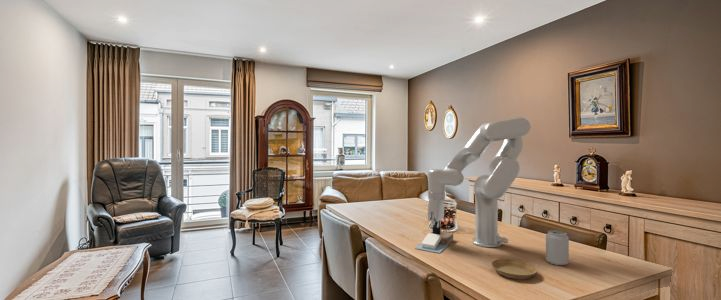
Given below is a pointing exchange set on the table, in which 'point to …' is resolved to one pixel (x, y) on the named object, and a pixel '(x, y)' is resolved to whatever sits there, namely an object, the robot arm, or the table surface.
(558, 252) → the can
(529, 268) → the plant saucer
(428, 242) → the tile
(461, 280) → the table surface
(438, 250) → the mat
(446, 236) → the step
